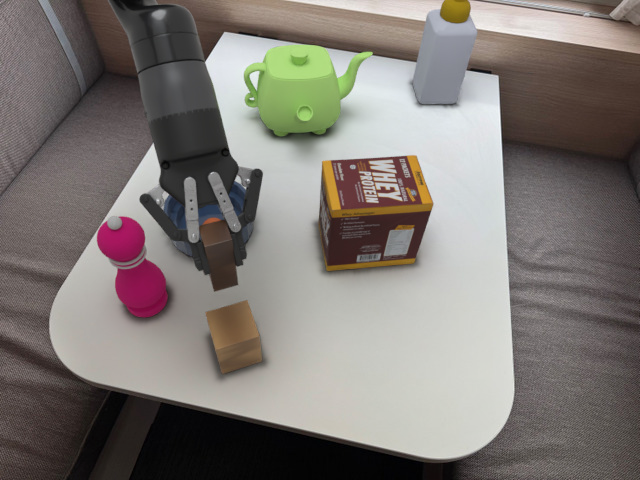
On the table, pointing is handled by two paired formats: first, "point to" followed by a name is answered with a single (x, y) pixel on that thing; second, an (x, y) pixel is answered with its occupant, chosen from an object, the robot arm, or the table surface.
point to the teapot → (299, 88)
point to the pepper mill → (132, 266)
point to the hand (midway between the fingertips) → (223, 268)
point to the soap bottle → (444, 53)
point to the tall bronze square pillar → (219, 254)
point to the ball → (211, 220)
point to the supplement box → (372, 211)
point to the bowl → (205, 214)
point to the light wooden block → (234, 336)
